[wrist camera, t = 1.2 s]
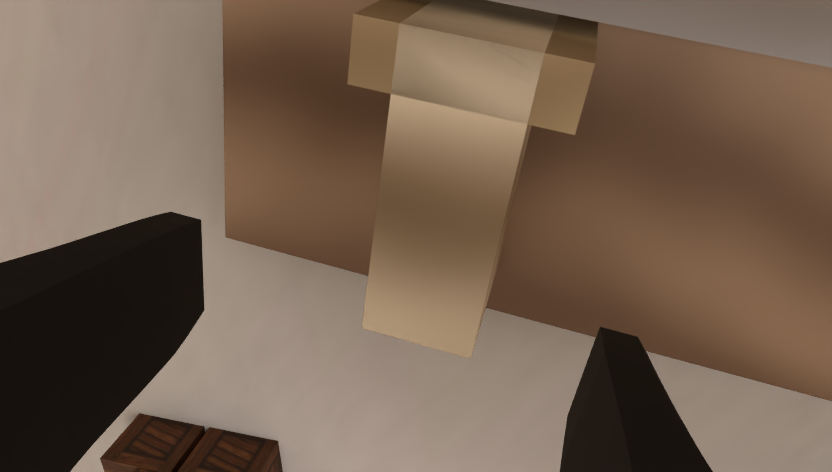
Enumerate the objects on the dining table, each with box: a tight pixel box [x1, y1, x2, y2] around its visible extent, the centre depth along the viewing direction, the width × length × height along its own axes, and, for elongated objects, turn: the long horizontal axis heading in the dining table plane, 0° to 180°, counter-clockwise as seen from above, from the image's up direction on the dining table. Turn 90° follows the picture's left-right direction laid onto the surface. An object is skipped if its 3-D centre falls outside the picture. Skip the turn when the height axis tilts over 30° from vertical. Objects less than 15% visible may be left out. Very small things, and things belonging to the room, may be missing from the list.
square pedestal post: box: [347, 0, 598, 359], centre depth 17 cm, size 8×5×4 cm, turn 172°
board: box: [222, 0, 832, 401], centre depth 17 cm, size 12×28×4 cm, turn 82°
